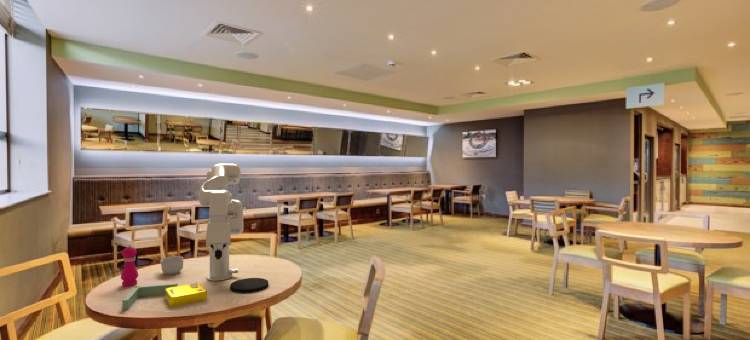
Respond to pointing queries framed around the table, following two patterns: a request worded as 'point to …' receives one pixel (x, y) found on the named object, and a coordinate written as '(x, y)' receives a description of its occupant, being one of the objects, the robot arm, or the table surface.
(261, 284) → the wireless charger
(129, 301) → the corner stop
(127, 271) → the pepper mill
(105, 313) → the table surface
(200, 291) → the element tile
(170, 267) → the teacup
